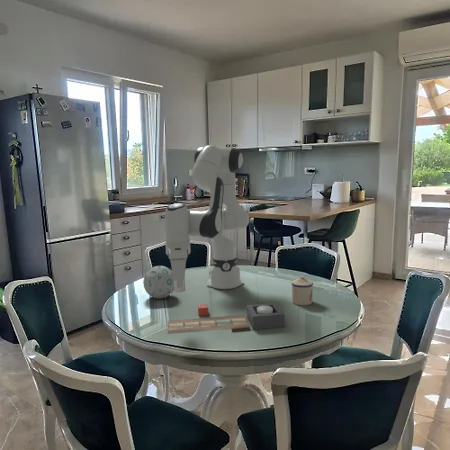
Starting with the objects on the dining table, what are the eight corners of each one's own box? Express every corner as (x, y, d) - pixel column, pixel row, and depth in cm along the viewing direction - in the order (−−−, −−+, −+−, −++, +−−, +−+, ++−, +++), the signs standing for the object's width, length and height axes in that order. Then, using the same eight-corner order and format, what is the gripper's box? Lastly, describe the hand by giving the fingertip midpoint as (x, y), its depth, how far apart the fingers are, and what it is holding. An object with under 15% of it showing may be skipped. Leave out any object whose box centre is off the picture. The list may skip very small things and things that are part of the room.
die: (198, 314, 156) (197, 304, 156) (207, 313, 157) (207, 303, 156) (198, 317, 152) (198, 308, 152) (208, 317, 153) (208, 307, 152)
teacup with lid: (314, 305, 162) (314, 279, 160) (293, 306, 162) (293, 279, 160) (309, 296, 173) (309, 271, 172) (289, 296, 174) (289, 271, 172)
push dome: (255, 313, 149) (255, 306, 148) (270, 312, 149) (270, 304, 149) (258, 319, 143) (258, 311, 142) (274, 318, 144) (274, 310, 143)
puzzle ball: (143, 304, 169) (141, 271, 167) (145, 293, 184) (143, 263, 182) (177, 301, 172) (176, 269, 169) (176, 291, 186) (175, 261, 184)
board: (168, 323, 148) (168, 320, 148) (244, 317, 151) (244, 314, 151) (167, 336, 136) (167, 333, 136) (250, 329, 140) (250, 327, 140)
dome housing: (246, 317, 152) (246, 305, 151) (276, 314, 153) (276, 302, 152) (252, 329, 140) (252, 316, 139) (284, 326, 141) (284, 314, 141)
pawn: (175, 289, 143) (174, 273, 142) (185, 288, 143) (184, 273, 142) (174, 292, 139) (172, 276, 138) (185, 292, 139) (184, 276, 138)
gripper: (170, 243, 148) (172, 277, 150) (168, 255, 128) (170, 294, 130) (186, 242, 149) (188, 276, 151) (187, 254, 129) (189, 293, 131)
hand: (179, 285), depth 140 cm, fingers closed on pawn, 4 cm apart
